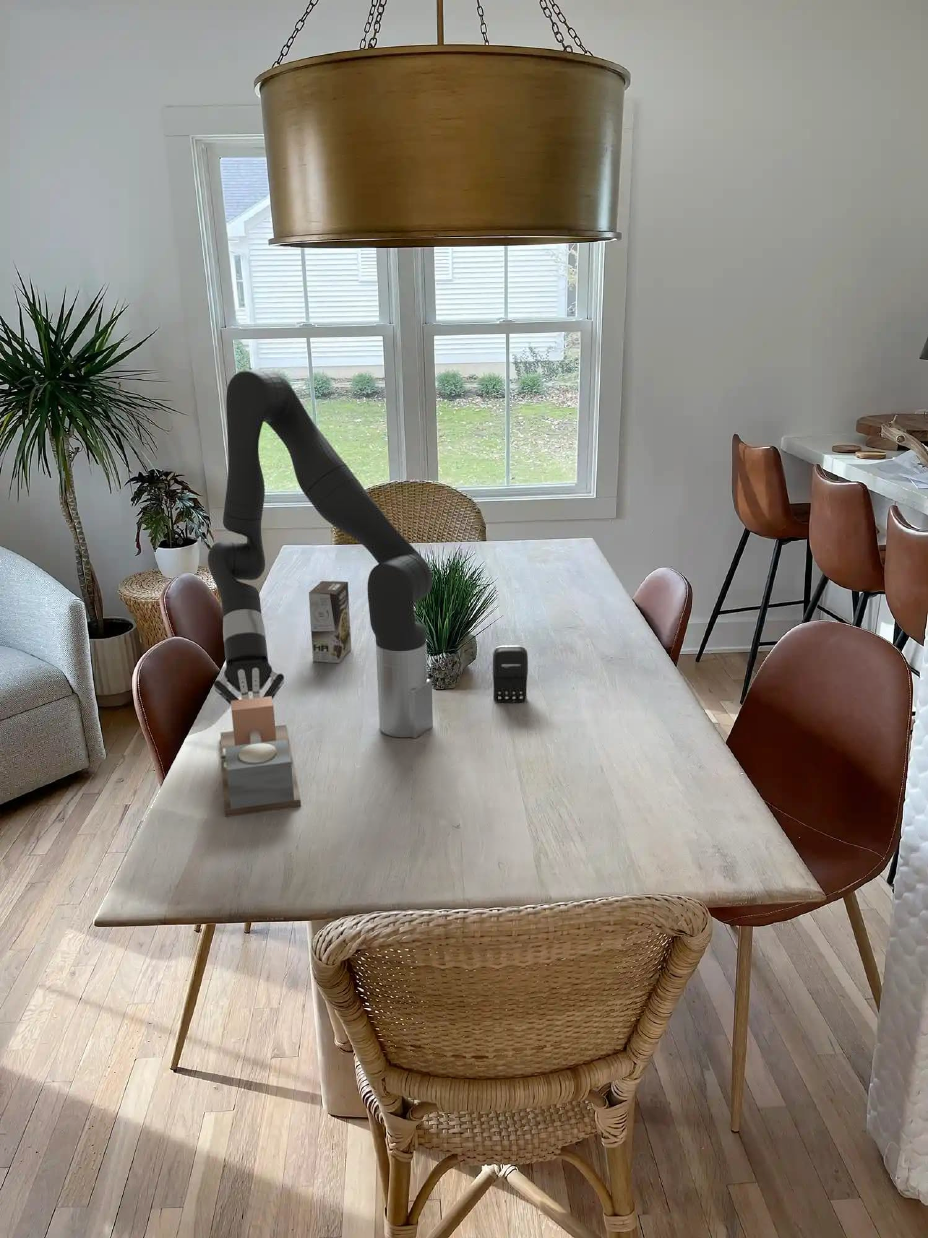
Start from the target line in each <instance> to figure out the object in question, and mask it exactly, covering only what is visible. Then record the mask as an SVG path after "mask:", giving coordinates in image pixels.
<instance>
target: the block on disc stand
mask: <svg viewBox="0 0 928 1238" xmlns="http://www.w3.org/2000/svg"><path fill="white" fill-rule="evenodd" d="M273 701H274V700H273V699H272V696H269V697H263V696H260V698H253V697H252V698H251V697H250V698H249V699H242V698H241V699H239V700H233V701H231V705H230V709H231V719H232V720H231V721H232V729H233V730H232V731H234V740H235V746H237V745H245V744H253V743H262V742H270V741H276V731H275V726H276V720H275V710H274V702H273ZM224 758H226V755H225V756H222V755H220V759H221V760H222V759H224Z"/></svg>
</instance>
